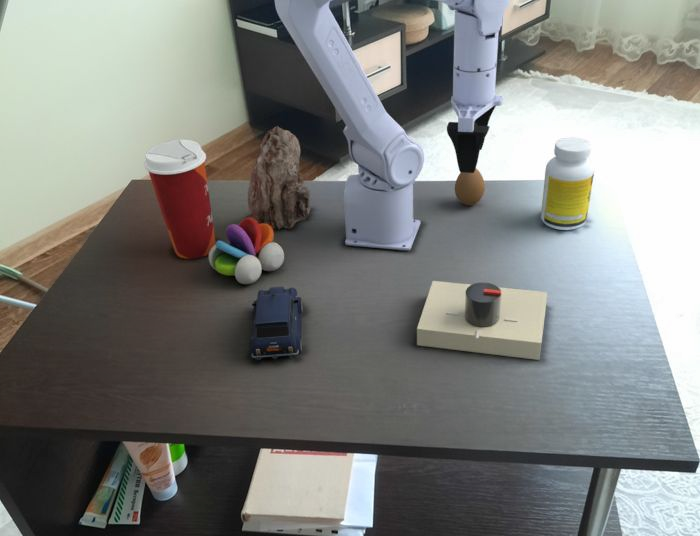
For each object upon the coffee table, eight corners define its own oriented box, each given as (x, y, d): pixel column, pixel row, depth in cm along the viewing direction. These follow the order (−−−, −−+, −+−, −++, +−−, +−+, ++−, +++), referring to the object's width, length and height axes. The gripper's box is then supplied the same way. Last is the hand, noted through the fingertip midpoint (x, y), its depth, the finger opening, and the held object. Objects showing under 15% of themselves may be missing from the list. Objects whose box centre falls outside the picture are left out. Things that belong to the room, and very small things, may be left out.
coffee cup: (235, 244, 106) (216, 147, 96) (190, 269, 102) (165, 169, 92) (199, 227, 111) (178, 132, 101) (155, 250, 106) (128, 153, 97)
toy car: (302, 303, 94) (297, 266, 90) (301, 363, 84) (296, 325, 81) (256, 306, 94) (250, 270, 90) (250, 367, 84) (242, 329, 81)
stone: (300, 116, 105) (232, 124, 105) (296, 132, 99) (224, 141, 99) (315, 211, 113) (252, 217, 114) (312, 231, 107) (245, 238, 107)
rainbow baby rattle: (295, 264, 101) (289, 218, 96) (240, 296, 96) (231, 248, 91) (256, 244, 106) (248, 199, 101) (202, 273, 101) (191, 227, 96)
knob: (462, 325, 84) (463, 298, 81) (467, 305, 87) (468, 278, 84) (497, 329, 83) (499, 302, 80) (501, 308, 86) (503, 281, 83)
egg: (490, 204, 110) (492, 167, 107) (468, 214, 109) (469, 177, 105) (469, 194, 113) (471, 157, 110) (448, 203, 111) (448, 166, 108)
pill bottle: (587, 233, 102) (599, 155, 95) (539, 231, 103) (548, 153, 96) (585, 210, 107) (597, 134, 100) (540, 208, 108) (548, 133, 101)
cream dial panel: (415, 348, 85) (415, 330, 83) (432, 296, 93) (432, 279, 91) (538, 363, 82) (541, 345, 80) (545, 308, 89) (547, 290, 88)
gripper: (498, 85, 92) (492, 184, 100) (510, 48, 102) (504, 140, 111) (443, 83, 93) (441, 181, 102) (460, 47, 104) (458, 138, 113)
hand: (471, 159), depth 106 cm, fingers open, 7 cm apart
